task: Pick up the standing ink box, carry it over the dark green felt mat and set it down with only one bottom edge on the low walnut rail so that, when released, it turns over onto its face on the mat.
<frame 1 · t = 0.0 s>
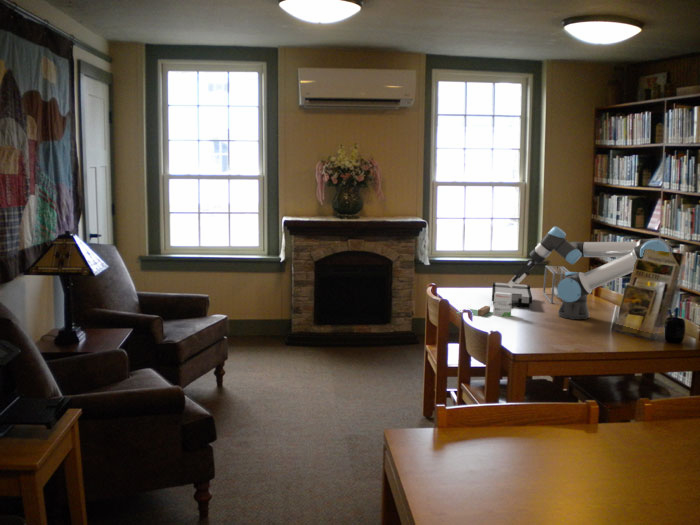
hand: (512, 284, 363), 15 cm above the table, tool tilted 35°, fingers open, 13 cm apart
newton's cradle: (555, 299, 410), on the table
felt mat: (475, 313, 362), on the table
ink box: (501, 316, 359), on the table
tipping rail: (483, 313, 360), resting on felt mat
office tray: (510, 303, 395), on the table
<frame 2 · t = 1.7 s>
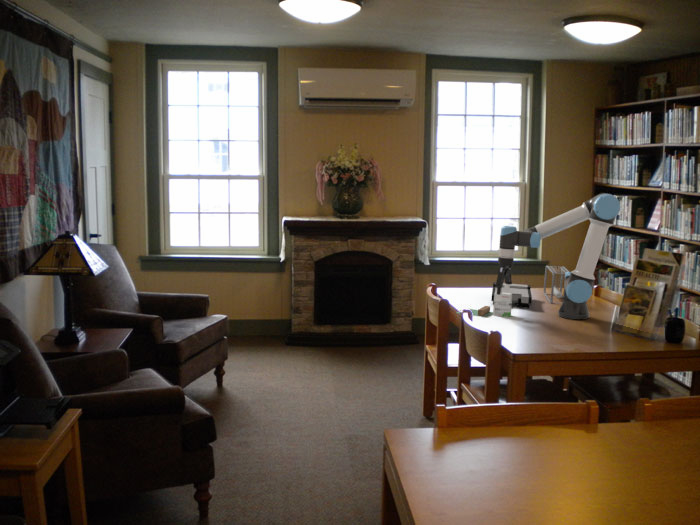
hand: (502, 298, 358), 9 cm above the table, tool pointing down, fingers open, 13 cm apart
nothing on the table moved.
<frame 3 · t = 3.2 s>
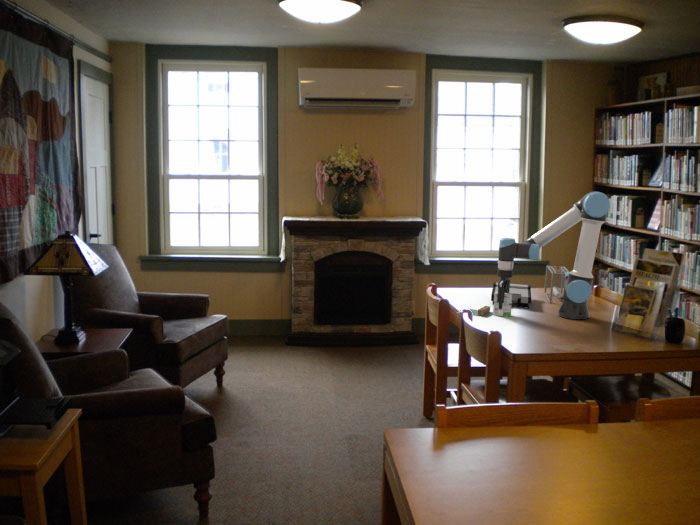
hand: (502, 314, 359), 1 cm above the table, tool pointing down, fingers closed on ink box, 5 cm apart
ink box: (501, 316, 359), on the table, touching gripper
everything else where it was.
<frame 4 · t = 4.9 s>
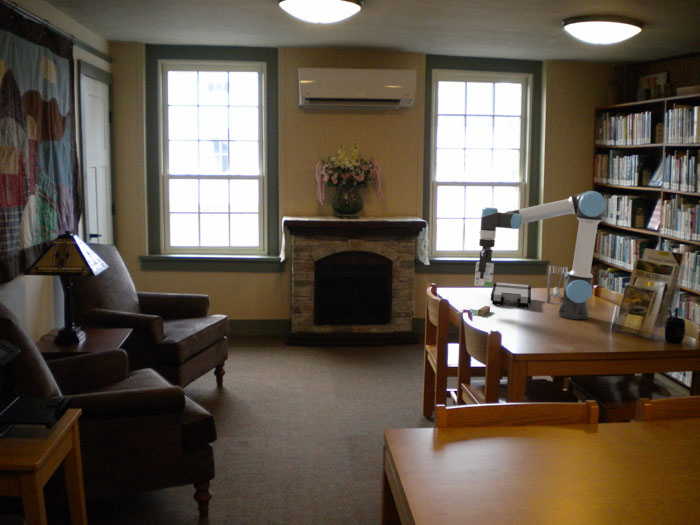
hand: (483, 284, 359), 16 cm above the table, tool pointing down, fingers closed on ink box, 5 cm apart
ink box: (483, 286, 359), point 14 cm above the table, touching gripper
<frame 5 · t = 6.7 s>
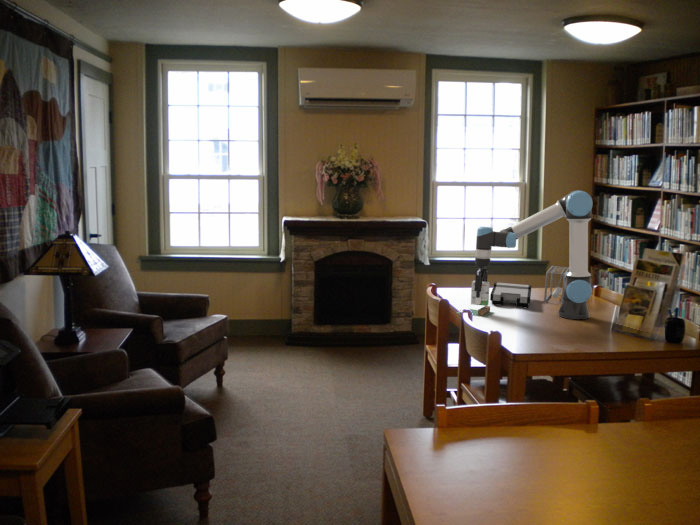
hand: (479, 302, 360), 6 cm above the table, tool pointing down, fingers closed on ink box, 5 cm apart
ink box: (479, 304, 361), point 5 cm above the table, touching gripper
when the fingers open (5 cm above the table, at t = 7.1 s): ink box moves 9 cm, resting on felt mat.
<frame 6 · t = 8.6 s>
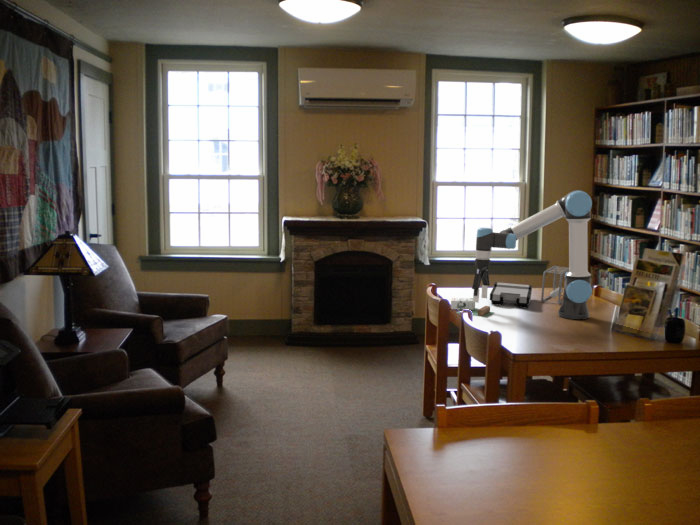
hand: (479, 300, 360), 7 cm above the table, tool pointing down, fingers open, 13 cm apart
ink box: (474, 303, 369), point 3 cm above the table, touching felt mat
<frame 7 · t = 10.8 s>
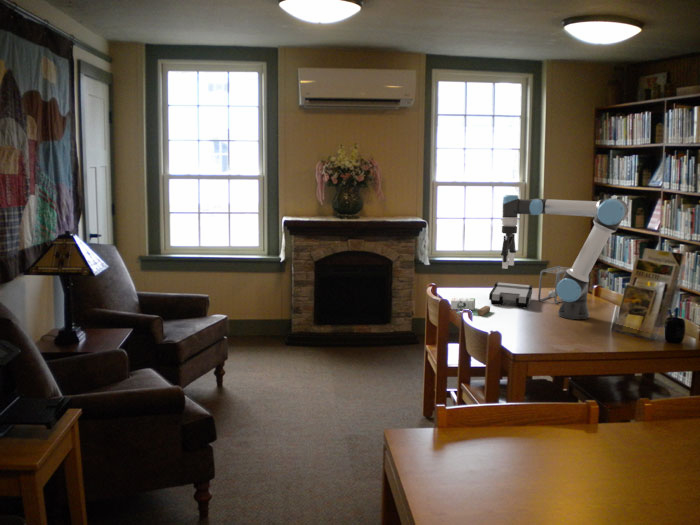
hand: (508, 266, 364), 24 cm above the table, tool pointing down, fingers open, 13 cm apart
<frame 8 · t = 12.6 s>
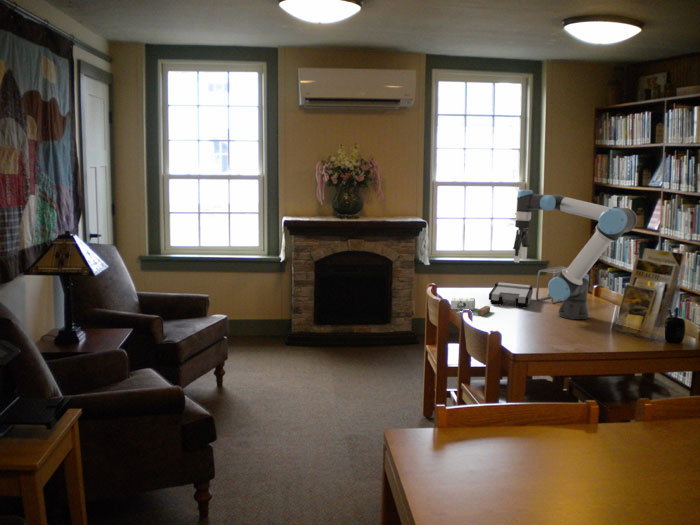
hand: (520, 260, 368), 27 cm above the table, tool pointing down, fingers open, 13 cm apart
at the end: ink box tilted 95°; ink box inside the target area (8.1 cm from its centre), point 3.3 cm above the table; the gripper is holding nothing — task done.
